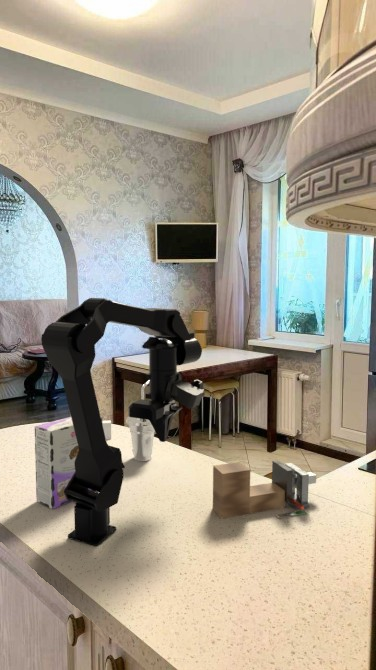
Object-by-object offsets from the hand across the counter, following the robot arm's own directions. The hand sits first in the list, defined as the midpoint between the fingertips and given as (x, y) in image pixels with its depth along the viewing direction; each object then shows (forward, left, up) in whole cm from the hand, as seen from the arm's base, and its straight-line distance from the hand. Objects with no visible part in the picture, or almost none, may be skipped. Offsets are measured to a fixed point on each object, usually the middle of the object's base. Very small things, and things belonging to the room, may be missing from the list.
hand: (163, 441), depth 106 cm
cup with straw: (+18, +15, -12) cm, 26 cm away
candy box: (-8, +18, -12) cm, 23 cm away
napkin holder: (+25, +36, -13) cm, 46 cm away
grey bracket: (+9, -28, -11) cm, 31 cm away
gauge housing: (+7, -25, -12) cm, 28 cm away
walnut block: (+2, -18, -12) cm, 22 cm away
